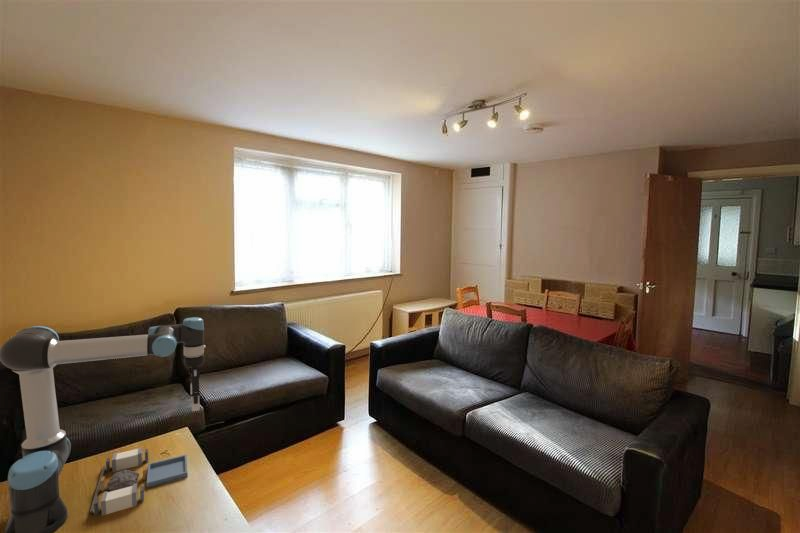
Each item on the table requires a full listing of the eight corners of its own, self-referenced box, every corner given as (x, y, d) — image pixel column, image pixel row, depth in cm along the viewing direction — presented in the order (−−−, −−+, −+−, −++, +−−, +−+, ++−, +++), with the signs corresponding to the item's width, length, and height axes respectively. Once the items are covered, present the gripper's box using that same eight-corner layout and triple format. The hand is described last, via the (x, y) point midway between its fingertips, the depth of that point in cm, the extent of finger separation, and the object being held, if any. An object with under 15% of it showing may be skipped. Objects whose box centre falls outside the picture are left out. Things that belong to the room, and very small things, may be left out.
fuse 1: (112, 472, 154) (111, 459, 153) (114, 465, 159) (113, 453, 158) (141, 465, 159) (141, 453, 159) (142, 458, 164) (142, 446, 163)
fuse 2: (101, 516, 131) (100, 501, 130) (104, 506, 136) (103, 492, 135) (136, 505, 136) (136, 492, 136) (137, 496, 141) (137, 483, 140)
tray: (146, 488, 145) (146, 483, 145) (148, 468, 157) (148, 463, 157) (187, 476, 152) (187, 472, 152) (186, 458, 164) (186, 454, 164)
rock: (139, 485, 147) (139, 475, 147) (104, 496, 141) (104, 486, 140) (139, 473, 154) (138, 464, 154) (105, 483, 148) (105, 473, 147)
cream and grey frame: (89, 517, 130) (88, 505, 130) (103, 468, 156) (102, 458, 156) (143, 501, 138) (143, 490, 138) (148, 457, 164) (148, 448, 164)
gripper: (206, 362, 148) (207, 414, 150) (202, 345, 169) (203, 390, 171) (184, 365, 144) (185, 418, 146) (183, 347, 165) (184, 393, 167)
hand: (195, 403), depth 159 cm, fingers open, 13 cm apart
